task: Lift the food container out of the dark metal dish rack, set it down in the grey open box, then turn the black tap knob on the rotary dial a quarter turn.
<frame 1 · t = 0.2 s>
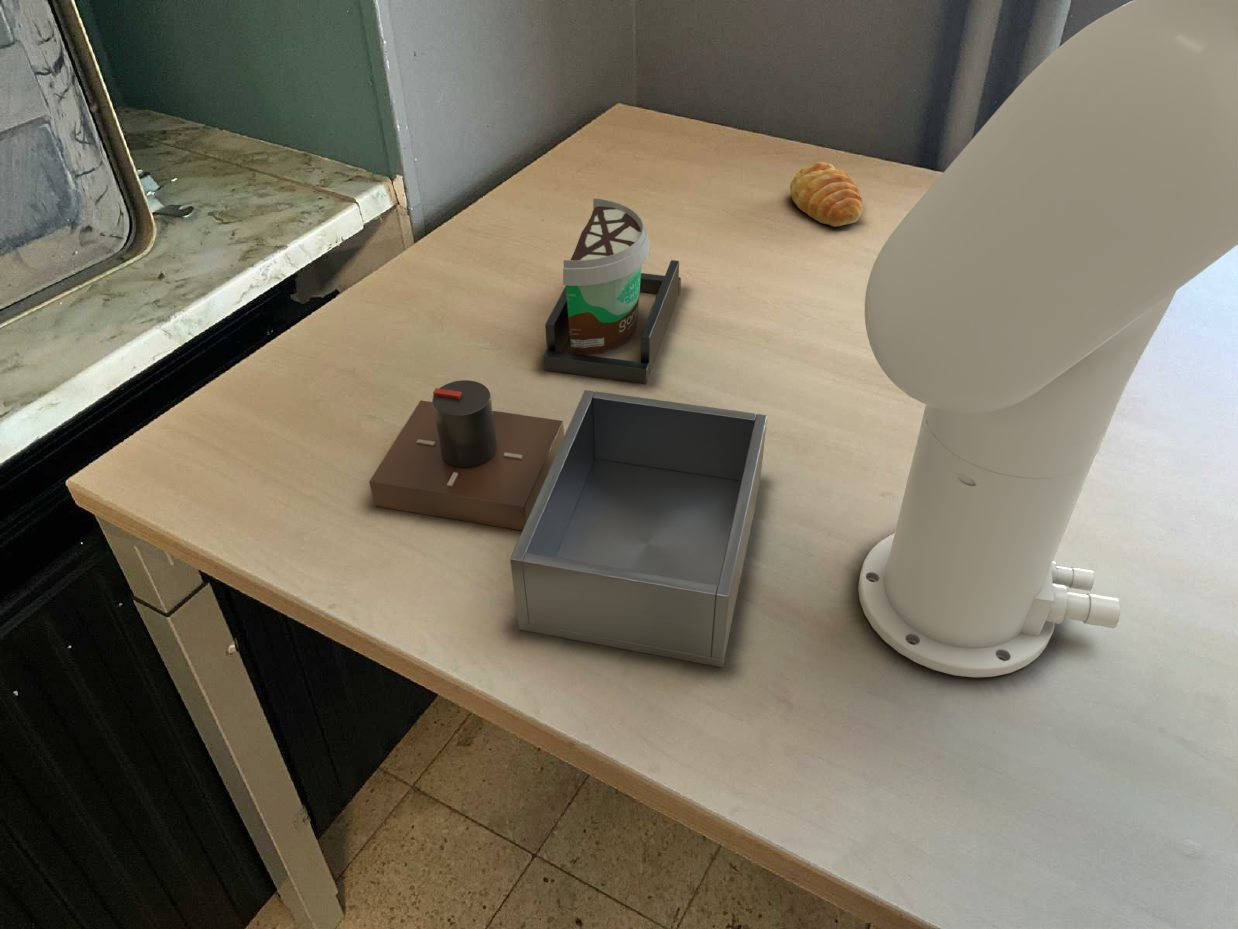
grey open box: (647, 551, 71), on the table
dish rack: (615, 328, 92), on the table
food container: (615, 330, 92), resting in dish rack
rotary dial: (472, 474, 77), on the table
pastry: (827, 208, 109), on the table
tap knob: (465, 422, 74), point 5 cm above the table, hinge at 0.0°
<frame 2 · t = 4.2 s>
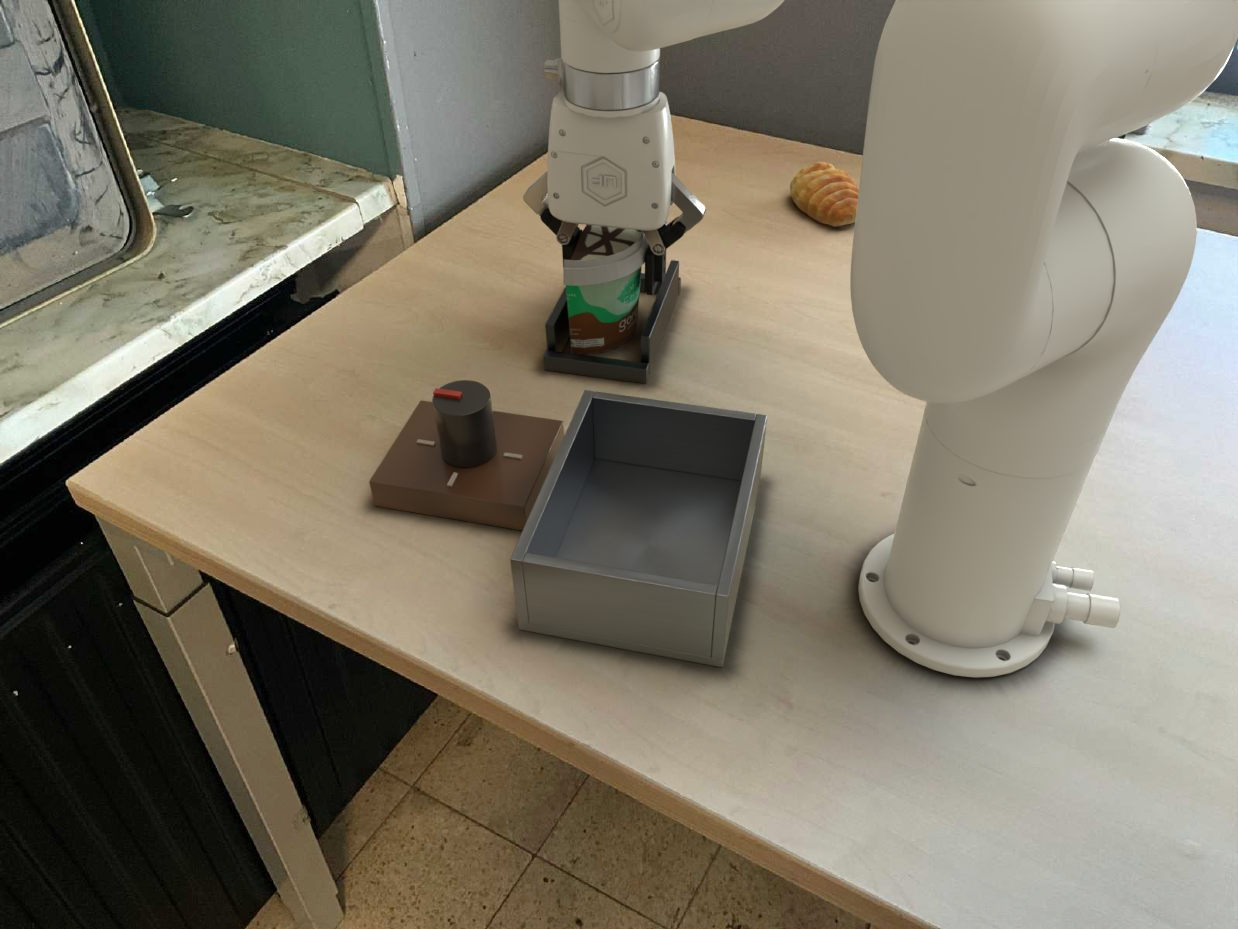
hand: (614, 280, 89), 5 cm above the table, tool pointing down, fingers closed on food container, 6 cm apart
food container: (615, 330, 92), resting in dish rack, touching gripper
everything else where it was.
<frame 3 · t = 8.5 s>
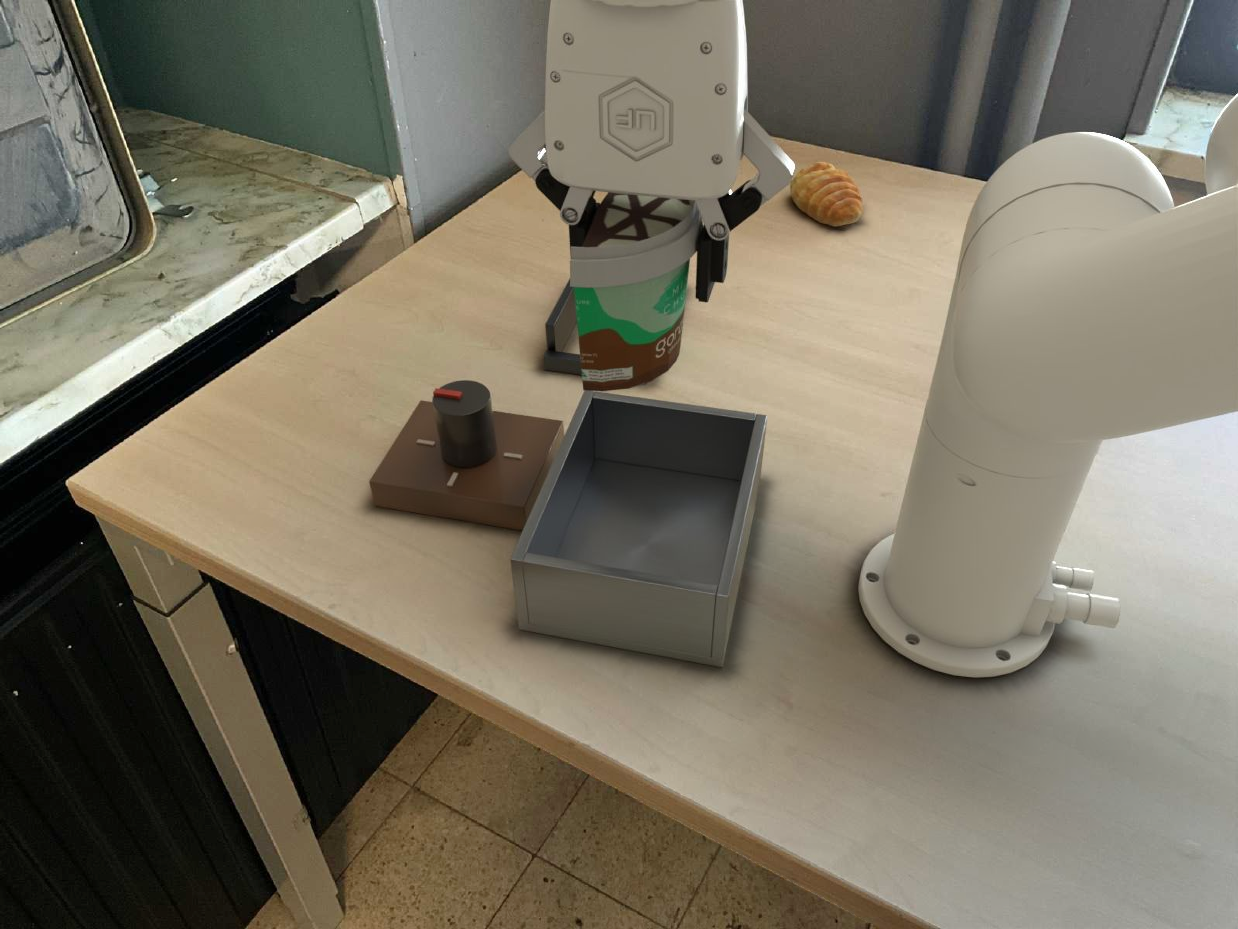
hand: (648, 280, 59), 21 cm above the table, tool pointing down, fingers closed on food container, 6 cm apart
food container: (649, 353, 62), point 16 cm above the table, touching gripper
everything else where it was.
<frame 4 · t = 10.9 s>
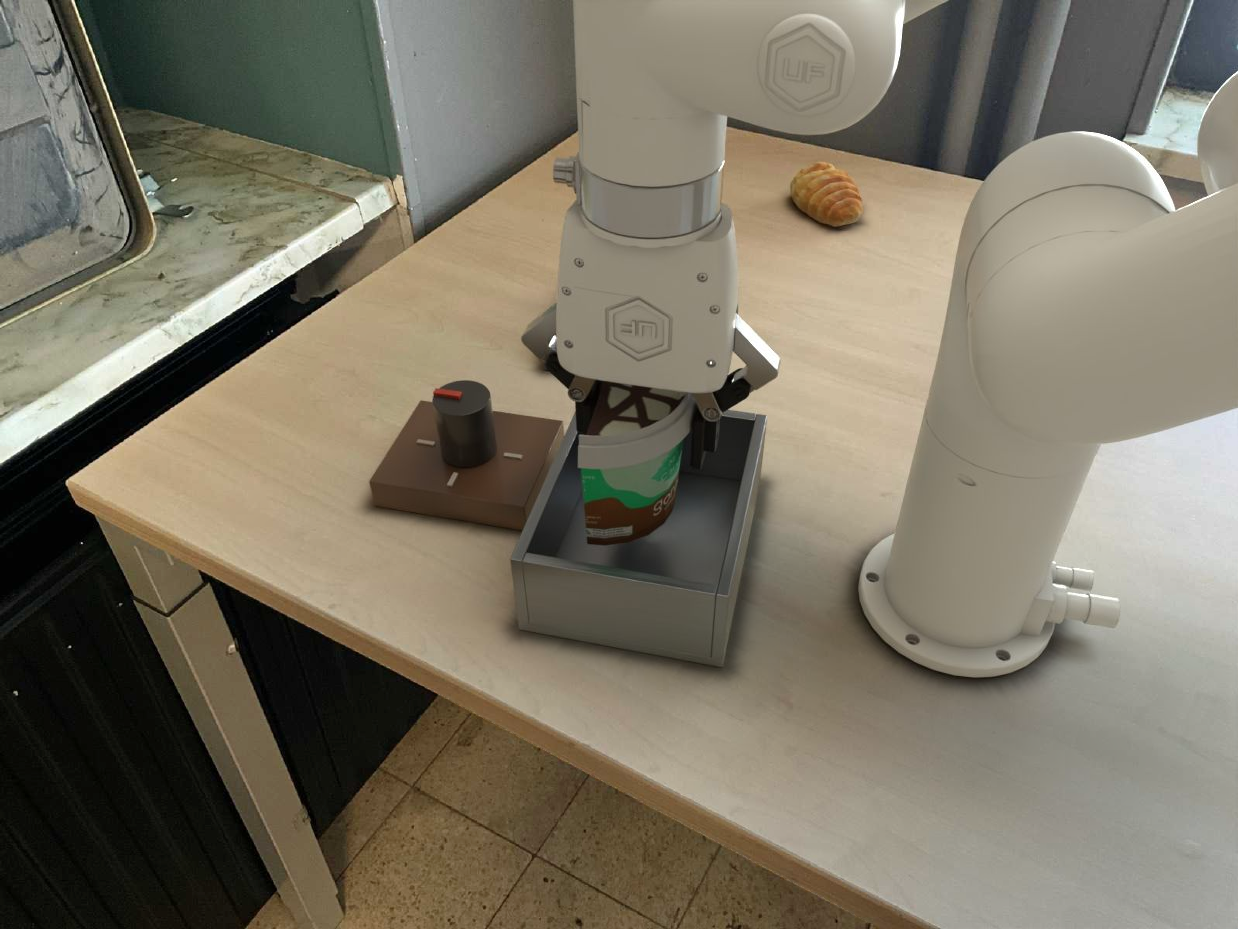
hand: (647, 445, 64), 10 cm above the table, tool pointing down, fingers closed on food container, 6 cm apart
food container: (646, 503, 68), point 5 cm above the table, touching gripper
everything else where it was.
when the fingers open (6 cm above the table, at t = 12.7 s): food container stays where it is, resting on grey open box.
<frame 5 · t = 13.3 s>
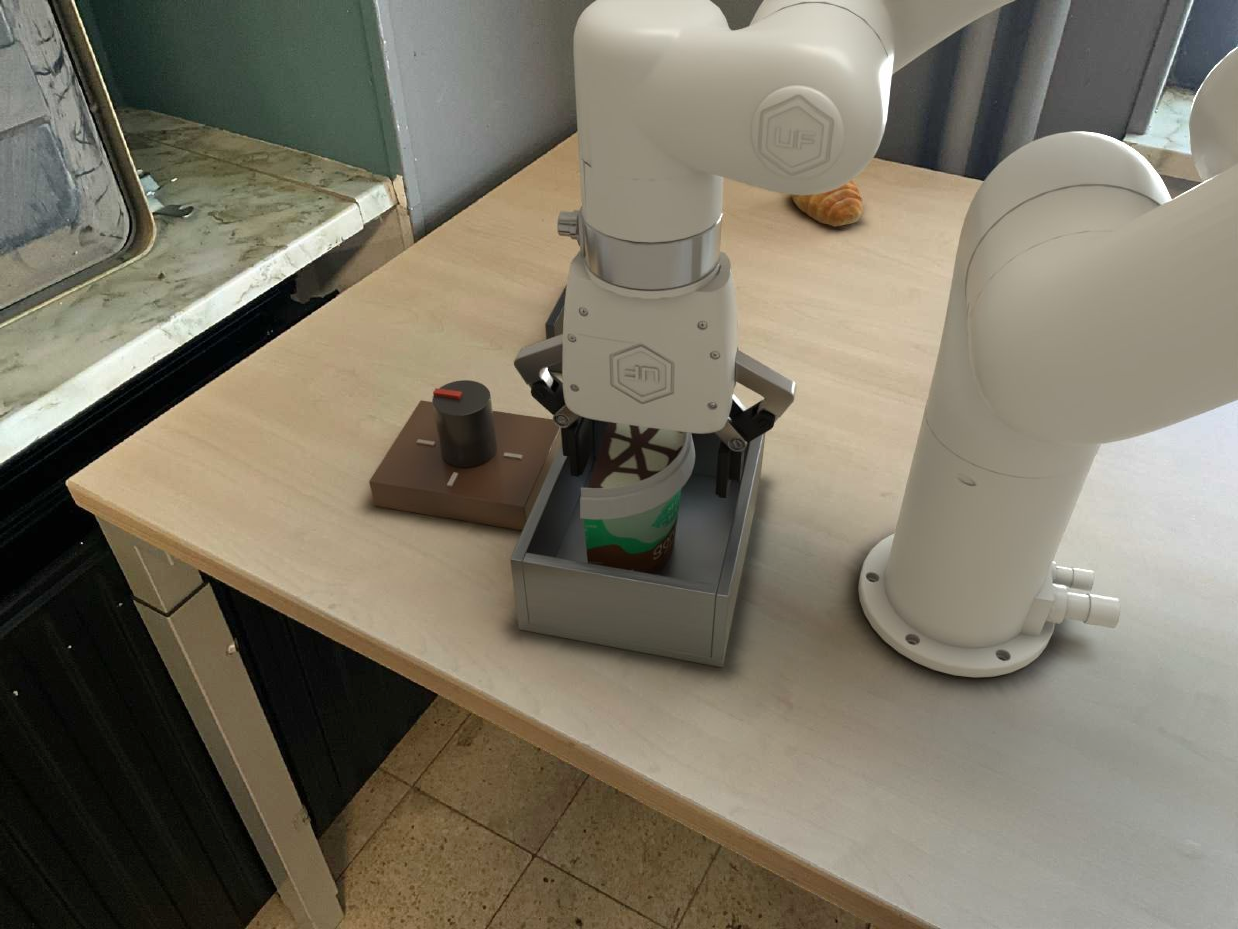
hand: (652, 473, 66), 8 cm above the table, tool pointing down, fingers open, 9 cm apart
food container: (647, 546, 70), point 1 cm above the table, touching grey open box
everything else where it was.
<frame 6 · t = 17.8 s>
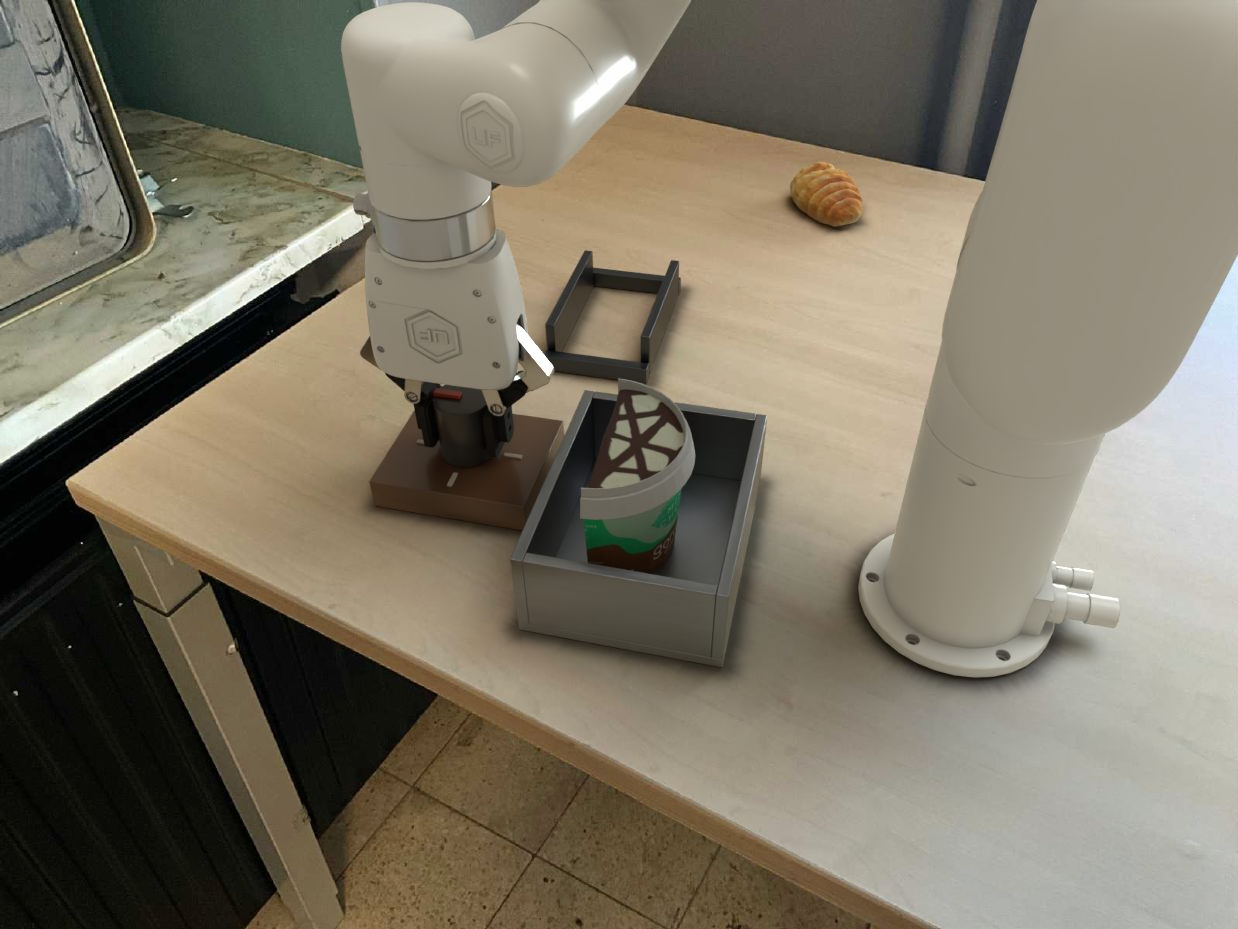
hand: (467, 438, 75), 4 cm above the table, tool pointing down, fingers closed on tap knob, 4 cm apart
tap knob: (465, 422, 74), point 5 cm above the table, hinge at 0.0°, touching gripper
everything else where it was.
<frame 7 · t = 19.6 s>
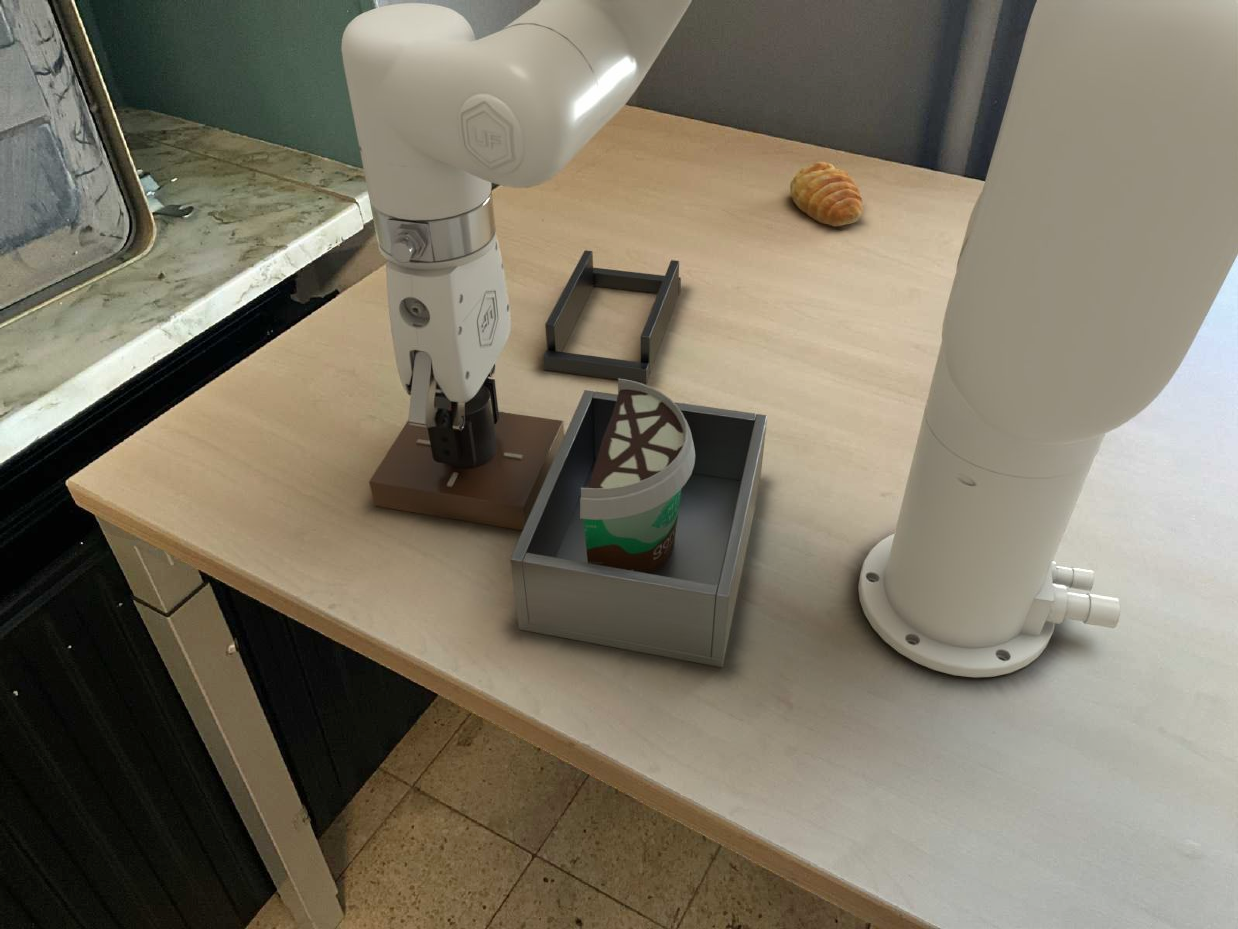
hand: (467, 438, 75), 4 cm above the table, tool pointing down, fingers closed on tap knob, 4 cm apart
tap knob: (465, 422, 74), point 5 cm above the table, hinge at 90.3°, touching gripper
everything else where it was.
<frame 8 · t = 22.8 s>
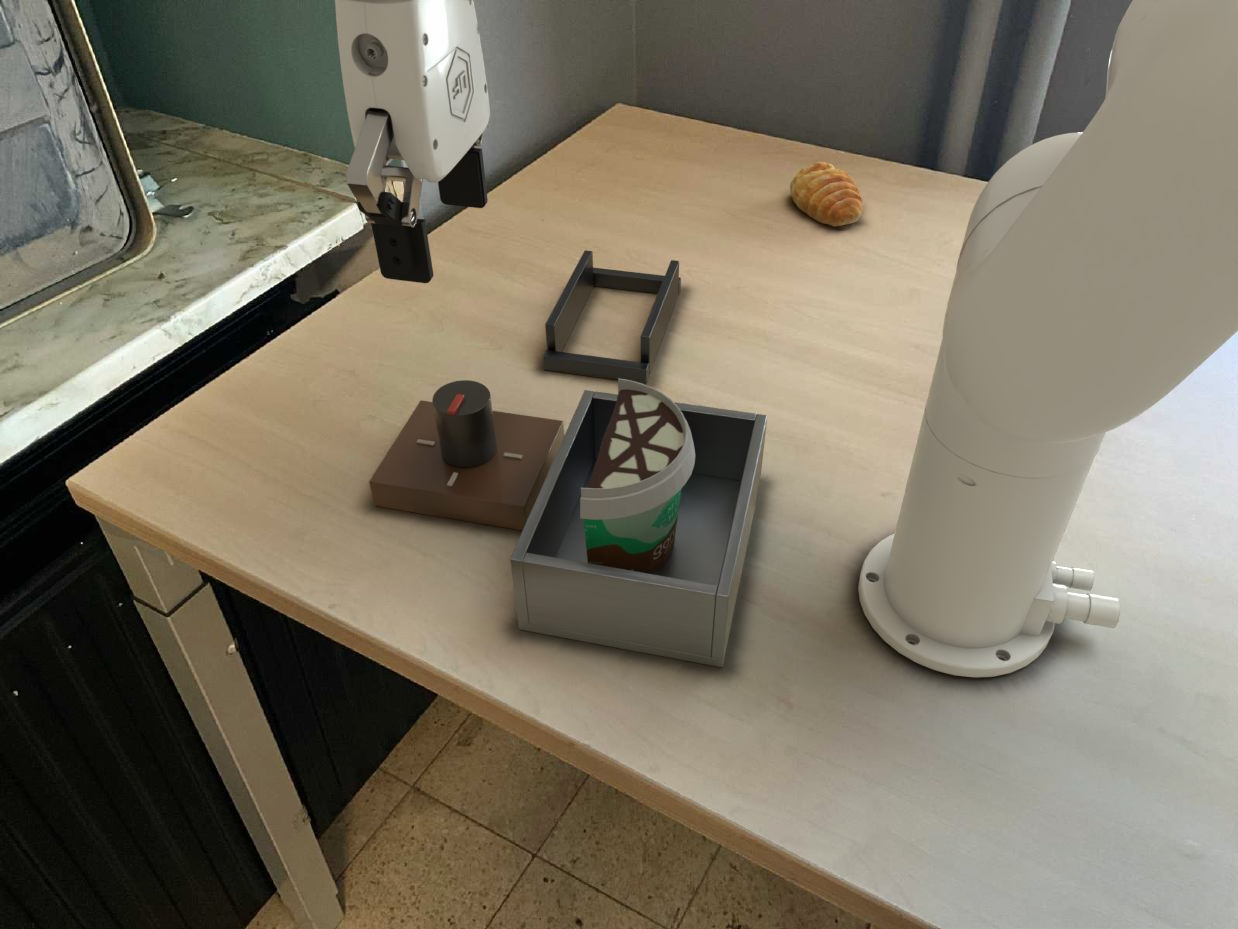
hand: (437, 239, 64), 20 cm above the table, tool pointing down, fingers open, 9 cm apart
tap knob: (465, 422, 74), point 5 cm above the table, hinge at 89.6°
everything else where it was.
at the end: food container inside the target area in the grey open box (0.1 cm from its centre), point 0.6 cm above the grey open box's base; tap knob at +90° (first picture: +0°); the gripper is holding nothing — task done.
